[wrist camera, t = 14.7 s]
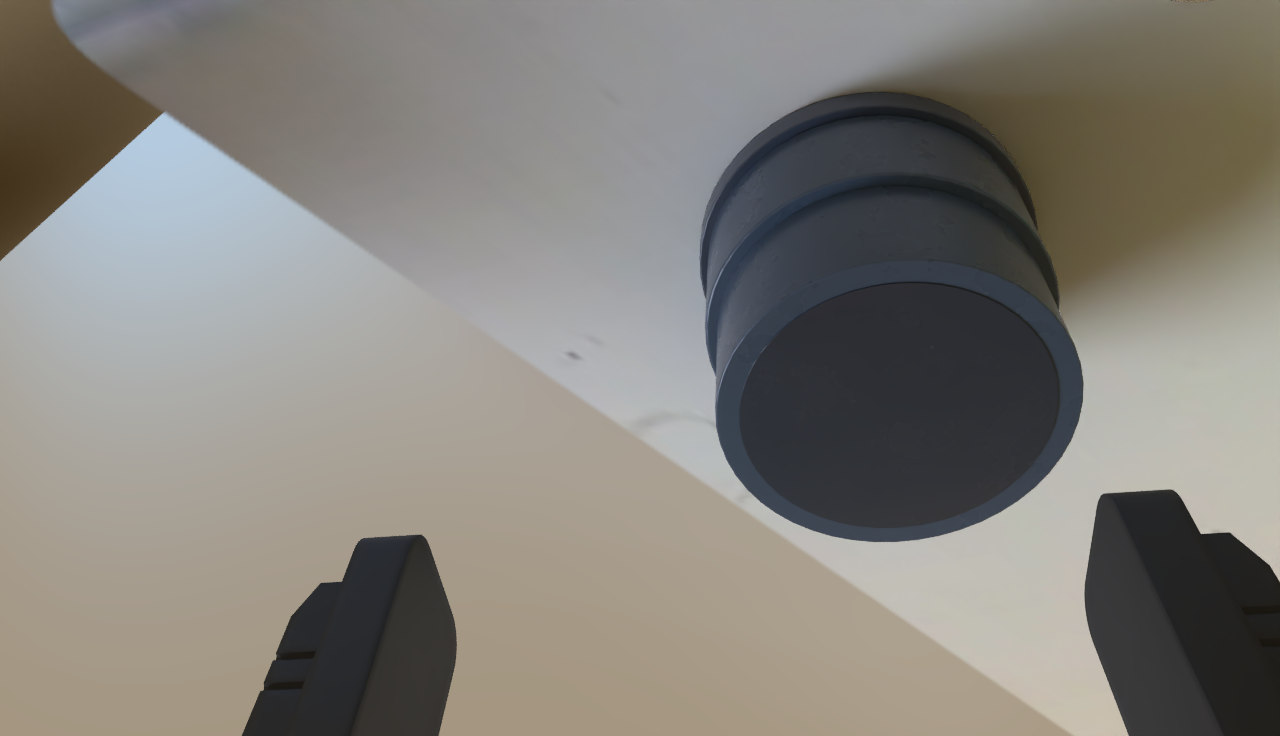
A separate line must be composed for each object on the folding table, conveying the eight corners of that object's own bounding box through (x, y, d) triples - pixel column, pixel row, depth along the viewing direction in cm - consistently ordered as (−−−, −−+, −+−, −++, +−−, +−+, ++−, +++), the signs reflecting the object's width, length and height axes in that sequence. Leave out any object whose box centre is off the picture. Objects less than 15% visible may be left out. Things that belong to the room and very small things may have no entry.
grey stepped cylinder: (717, 386, 44) (713, 567, 35) (682, 111, 37) (667, 258, 29) (1019, 365, 42) (1087, 549, 34) (1043, 72, 35) (1136, 216, 27)
